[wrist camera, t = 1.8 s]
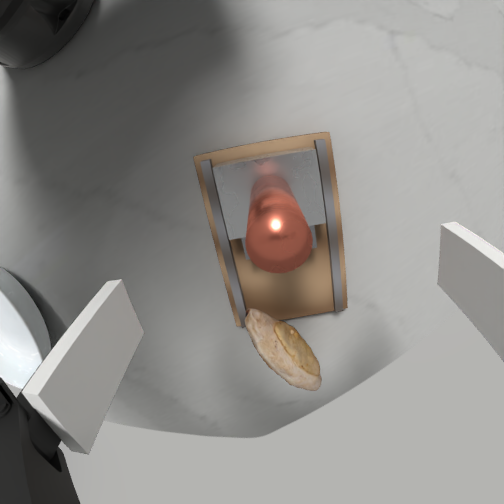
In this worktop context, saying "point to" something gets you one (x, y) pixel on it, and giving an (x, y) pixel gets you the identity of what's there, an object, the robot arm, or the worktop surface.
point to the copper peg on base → (273, 206)
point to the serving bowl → (20, 333)
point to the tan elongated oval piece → (283, 350)
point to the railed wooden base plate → (302, 278)
